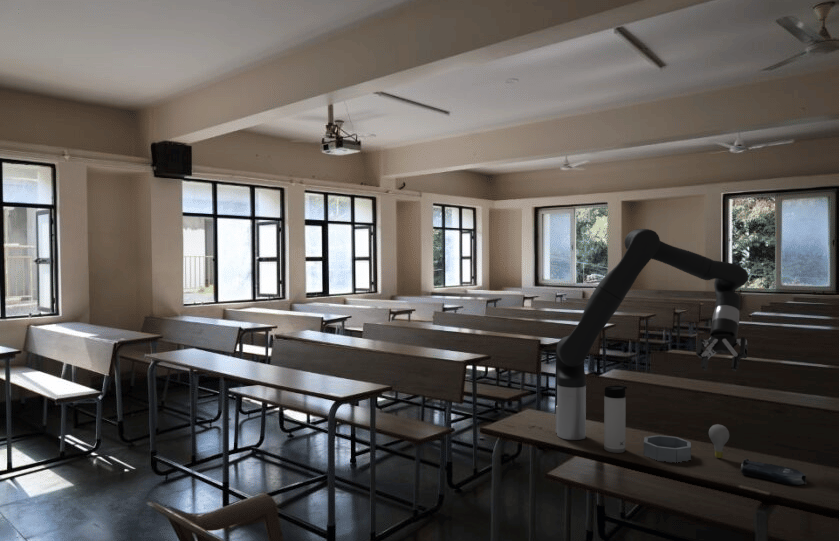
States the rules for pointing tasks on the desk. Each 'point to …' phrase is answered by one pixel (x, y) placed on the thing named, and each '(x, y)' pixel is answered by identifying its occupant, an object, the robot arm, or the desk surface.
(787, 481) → the electronic device
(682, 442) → the bowl
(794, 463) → the desk surface
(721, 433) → the light bulb
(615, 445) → the travel mug
